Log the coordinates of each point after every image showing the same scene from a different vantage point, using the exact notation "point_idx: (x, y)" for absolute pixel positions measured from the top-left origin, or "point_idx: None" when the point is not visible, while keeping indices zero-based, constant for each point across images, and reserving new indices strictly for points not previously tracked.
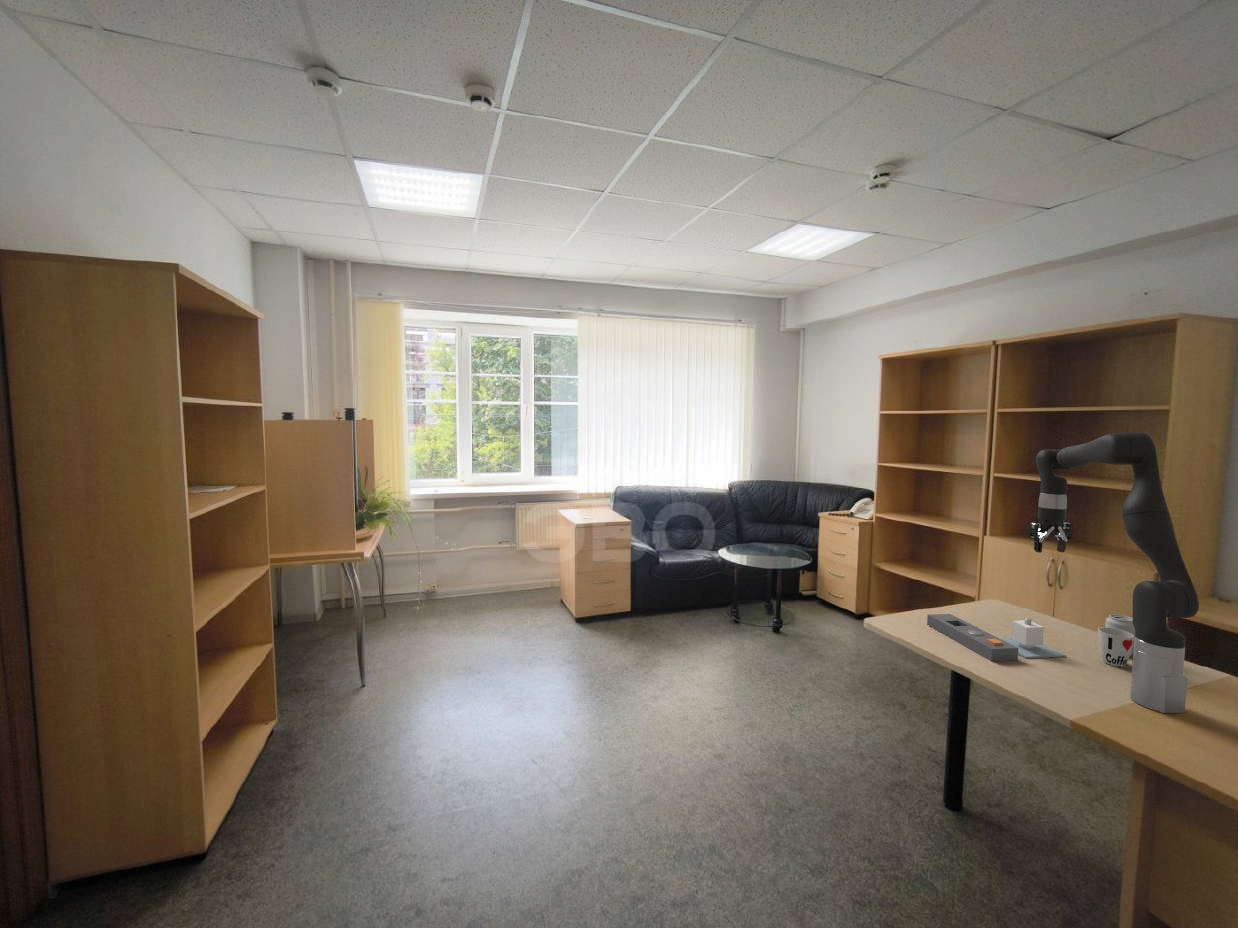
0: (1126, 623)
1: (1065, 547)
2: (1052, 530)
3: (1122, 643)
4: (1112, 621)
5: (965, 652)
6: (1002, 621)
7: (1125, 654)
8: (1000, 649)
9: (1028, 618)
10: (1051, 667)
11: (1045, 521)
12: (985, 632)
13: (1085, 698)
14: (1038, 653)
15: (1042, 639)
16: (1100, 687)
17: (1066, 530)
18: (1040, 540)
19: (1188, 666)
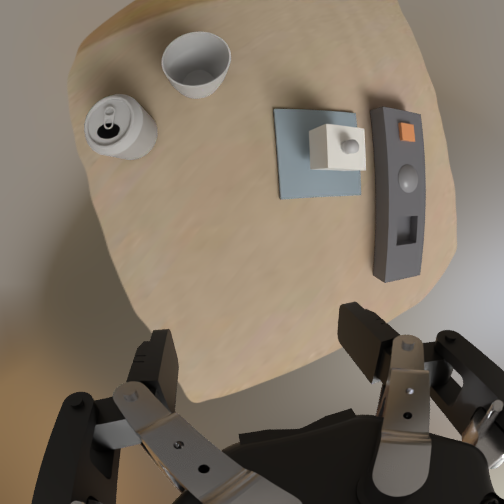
0: (123, 97)
1: (134, 357)
2: (387, 440)
3: (208, 40)
4: (139, 116)
5: None
6: (256, 300)
7: (199, 52)
8: (408, 112)
9: (349, 150)
10: (335, 78)
11: (491, 500)
12: (391, 181)
13: (354, 10)
14: (322, 121)
15: (314, 129)
16: (310, 19)
17: (94, 488)
18: (415, 338)
19: (73, 90)
